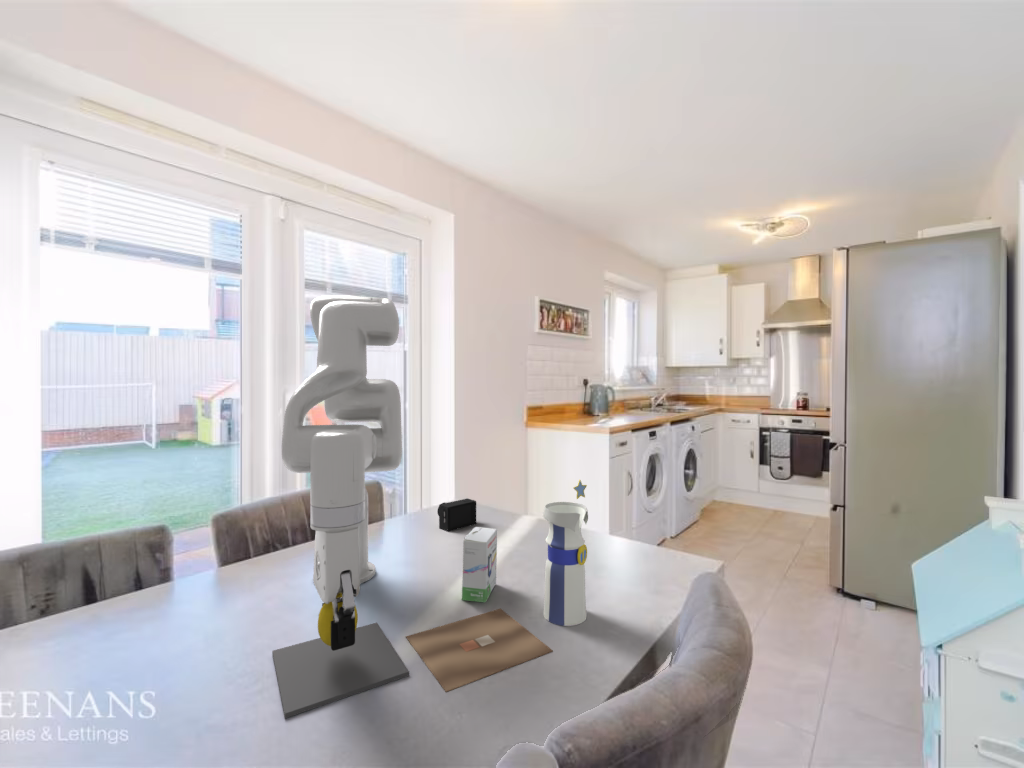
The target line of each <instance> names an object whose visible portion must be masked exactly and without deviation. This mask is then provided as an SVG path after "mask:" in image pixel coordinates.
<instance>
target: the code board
mask: <svg viewBox="0 0 1024 768" xmlns="http://www.w3.org/2000/svg"><path fill="white" fill-rule="evenodd" d="M405 639H407V641H408V643H409V644H410V645H411V647H412V648H413V649H414V651H415V652H416V653H417V655H418V656H419V657H420V659H421V661H422V662H423V663H424V664H425V666H426V667H427V668H428V670H429V671H430V672H431V674H432V675H433V676H434V678H435V680H436V681H437V682H438V684H439V685H440V686H441V688H442V689H443V690H444V692H445V693H448V692H450V691H453V690H455V689H458V688H460V687H463V686H466V685H469V684H473V682H476V681H480V680H481V679H485V678H487V677H490V676H493V675H495V674H498V673H500V672H503V671H505V670H509V669H511V668H513V667H516V666H518V665H522V664H524V663H526V662H530V661H531V660H535V659H537V658H539V657H543V656H545V655H547V654H550V653H553V652H554V651H553V649H552V648H551V647H549V646H548V645H547V644H546V643H544V642H543V641H541V640H540V638H538V637H537V636H536V635H534V634H533V633H532V632H531V631H529V630H528V629H527V628H526V627H524V626H523V625H522V624H521V623H519V622H518V621H517V620H516V619H514V618H513V617H512V616H511V615H509V614H508V613H507V612H506V611H504V609H503V608H496V609H493V610H490V611H487V612H484V613H479V614H477V615H473V616H470V617H466V618H464V619H460V620H457V621H453V622H449V623H446V624H443V625H439V626H436V627H433V628H429V629H426V630H422V631H419V632H416V633H413V634H409V635H406V636H405Z"/></svg>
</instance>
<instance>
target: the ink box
mask: <svg viewBox="0 0 1024 768" xmlns="http://www.w3.org/2000/svg"><path fill="white" fill-rule="evenodd" d="M462 543H463V546H462V547H463V548H462V552H463V553H462V576H461V577H462V578H461V579H462V580H461V583H462V584H461V600H462V601H468V602H469V601H470V602H477V603H486V602H487V600H488V599H489V597H490V595H491V593H492V591H493V590H494V587H495V586H496V584H497V561H498V560H497V559H498V557H497V554H498V552H497V551H498V549H497V548H498V528H490V527H482V526H475V527H473V528H472V530H471V531H470V532H469V533H467V534H466V536H465V537H464V538H463V542H462Z"/></svg>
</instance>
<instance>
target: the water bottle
mask: <svg viewBox="0 0 1024 768" xmlns="http://www.w3.org/2000/svg"><path fill="white" fill-rule="evenodd" d="M587 486H588V485H587V484H583V483H582V481H581V479H579V480H578V482H577V485H575V486H574V487H573V489H574V491H576V500H578V499H580V498H581V497H583V498H586V493H585V490H586V489H587ZM588 511H589V510H588V508H587V506H586V505H583V504H582V503H577V502H571V501H556V502H555V501H554V502H550V503H547V504H546V505H544V509H543V512H542V517H543V519H544V520H545V521H547V522H548V528H549V529H548V535H547V536H546V538H545V543H546V544H547V558H546V561H545V567H544V599H543V600H544V601H543V613H542V614H543V617H544V619H545V620H546V621H548V622H550V623H551V624H553V625H557V626H562V627H563V626H564V627H570V626H571V627H572V626H577V625H580V624H582V623H584V622H585V621H586V619H587V601H586V600H587V599H586V567H585V566H586V565H585V563H586V562H587V557H588V548H587V545H586V544H585V543H586V542H585V541H586V540H585V539H584V537H583V535H582V525H583V523H585V525H587V523H588V520H589V513H588Z"/></svg>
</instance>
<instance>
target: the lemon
mask: <svg viewBox="0 0 1024 768" xmlns="http://www.w3.org/2000/svg"><path fill="white" fill-rule="evenodd" d="M339 597H342V595H341V594H339V593H338V594H337V595H336V598H339ZM323 603H324V602H323ZM342 605H343V602H340V603H338V610H339V608H340V607H343V606H342ZM321 606H322V605H321ZM354 609H355V631H356V628H358V627H357V626H358V623H359V621H358V619H359V617H358V616H359V615H358V610H357V606H356V605H355V608H354ZM331 621H333V609H332V602H329V604H325V603H324V604H323V606H322V607H321V608H320V610H319V614H318V618H317V631H318V636H319V638H321V640H322V641H323V642H324V643H325V644H327V645H328V646H331Z"/></svg>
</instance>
